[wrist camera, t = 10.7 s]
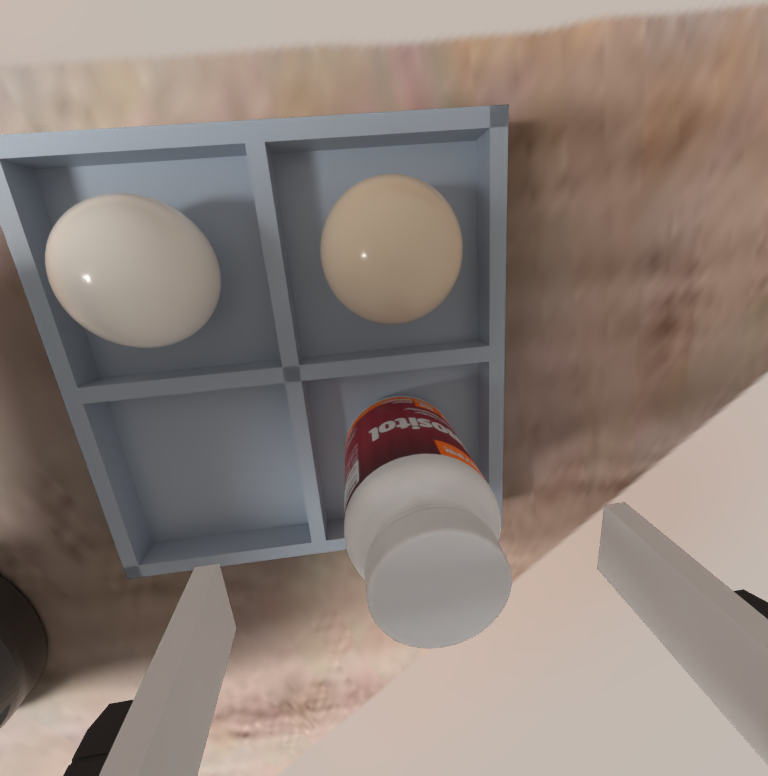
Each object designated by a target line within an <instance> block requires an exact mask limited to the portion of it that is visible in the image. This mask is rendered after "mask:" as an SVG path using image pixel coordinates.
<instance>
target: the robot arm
mask: <svg viewBox="0 0 768 776" xmlns="http://www.w3.org/2000/svg"><path fill="white" fill-rule="evenodd" d="M597 569H598V570H599V571H600V572H601V573H602V575H603V576H604V577H605V578H606V579H607V580H608V582H609V583H610V584H611V585H612V586H613V587H614V588H615V590H616V591H617V592H618V593H619V594H620V595H621V597H622V598H623V599H624V600H625V601H626V602H627V603H628V605H629V606H630V607H631V608H632V609H633V610H634V612H635V613H636V614H637V615H638V616H639V617H640V618H641V620H642V621H643V622H644V623H645V624H646V625H647V627H648V628H649V629H650V630H651V631H652V632H653V634H654V635H655V636H656V637H657V638H658V639H659V640H660V642H661V643H662V644H663V645H664V646H665V647H666V648H667V650H668V651H669V652H670V653H671V654H672V655H673V657H674V658H675V659H676V660H677V661H678V662H679V664H680V665H681V666H682V667H683V668H684V669H685V670H686V672H687V673H688V674H689V675H690V676H691V677H692V679H693V680H694V681H695V682H696V683H697V684H698V685H699V687H700V688H701V689H702V690H703V691H704V692H705V694H706V695H707V696H708V697H709V698H710V699H711V700H712V702H713V703H714V704H715V705H716V706H717V707H718V709H719V710H720V711H721V712H722V713H723V714H724V715H725V717H726V718H727V719H728V720H729V721H730V722H731V724H732V725H733V726H734V727H735V728H736V729H737V731H738V732H739V733H740V734H741V735H742V736H743V737H744V739H745V740H746V741H747V742H748V743H749V744H750V746H751V747H752V748H753V749H754V750H755V751H756V752H757V754H758V755H759V756H760V757H761V758H762V759H763V760H764V761H765V763H766V764H767V765H768V602H766V601H764V600H762V599H760V598H758V597H756V596H755V595H753V594H751V593H749V592H747V591H745V590H738V591H733V590H731V589H730V588H729V587H728V586H726V585H725V584H724V583H723V582H722V581H720V580H719V579H718V578H717V577H715V576H714V575H713V574H712V573H711V572H709V571H708V570H707V569H706V568H704V567H703V566H702V565H701V564H699V563H698V562H697V561H696V560H695V559H693V558H692V557H691V556H690V555H689V554H687V553H686V552H685V551H684V550H682V549H681V548H680V547H679V546H677V545H676V544H675V543H674V542H673V541H671V540H670V539H669V538H668V537H666V536H665V535H664V534H663V533H662V532H660V531H659V530H658V529H657V528H655V527H654V526H653V525H652V524H650V523H649V522H648V521H647V520H646V519H644V518H643V517H642V516H641V515H640V514H638V513H637V512H636V511H635V510H633V509H632V508H631V507H630V506H629V505H627V504H626V503H625V502H624V503H617V504H610V505H604V512H603V521H602V531H601V539H600V548H599V557H598V566H597ZM235 632H236V625H235V621H234V617H233V614H232V610H231V606H230V602H229V598H228V595H227V591H226V587H225V583H224V579H223V576H222V572H221V568H220V564H213V565H207V566H200V567H195V568H194V570H193V572H192V574H191V576H190V578H189V581H188V583H187V585H186V587H185V589H184V591H183V594H182V596H181V598H180V600H179V602H178V605H177V607H176V609H175V611H174V613H173V615H172V618H171V620H170V622H169V624H168V626H167V628H166V631H165V633H164V635H163V637H162V639H161V641H160V644H159V646H158V648H157V650H156V652H155V655H154V657H153V659H152V661H151V663H150V665H149V668H148V670H147V672H146V674H145V676H144V678H143V681H142V683H141V685H140V687H139V689H138V692H137V694H136V696H135V698H134V700H129V701H124V702H118V703H112V704H109V705H108V706H107V708H106V709H105V710H104V711H103V712H102V713H101V715H100V716H99V717H98V718H97V719H96V721H95V722H94V723H93V724H92V725H91V727H90V728H89V729H88V730H87V732H86V734H85V736H84V738H83V739H82V741H81V743H80V745H79V747H78V749H77V751H76V753H75V755H74V757H73V758H72V763H71V765H69V766H68V768H67V770H66V772H65V774H64V775H63V776H197V775H198V771H199V767H200V763H201V760H202V756H203V752H204V748H205V745H206V741H207V737H208V733H209V730H210V726H211V722H212V718H213V715H214V711H215V707H216V703H217V700H218V696H219V692H220V688H221V685H222V681H223V677H224V674H225V670H226V666H227V662H228V659H229V655H230V651H231V647H232V644H233V640H234V636H235ZM46 655H47V645H46V638H45V633H44V630H43V627H42V625H41V622H40V620H39V618H38V616H37V614H36V613H35V611H34V609H33V608H32V606H31V605H30V604H29V602H28V601H27V600H26V599H25V598H24V597H23V595H22V594H21V593H20V592H19V591H18V590H17V589H16V588H15V587H13V586H12V585H11V584H10V583H9V582H8V581H6V580H5V579H4V578H2V577H1V576H0V728H1V727H2V726H3V725H4V724H5V723H6V722H7V721H8V720H9V719H10V717H11V716H12V715H13V714H14V712H15V711H16V710H17V708H18V707H19V706H20V704H21V703H22V702H23V700H24V699H25V697H26V696H27V695H28V693H29V692H30V691H31V689H32V688H33V687H34V685H35V684H36V682H37V681H38V679H39V678H40V676H41V674H42V671H43V669H44V666H45V662H46Z"/></svg>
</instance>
